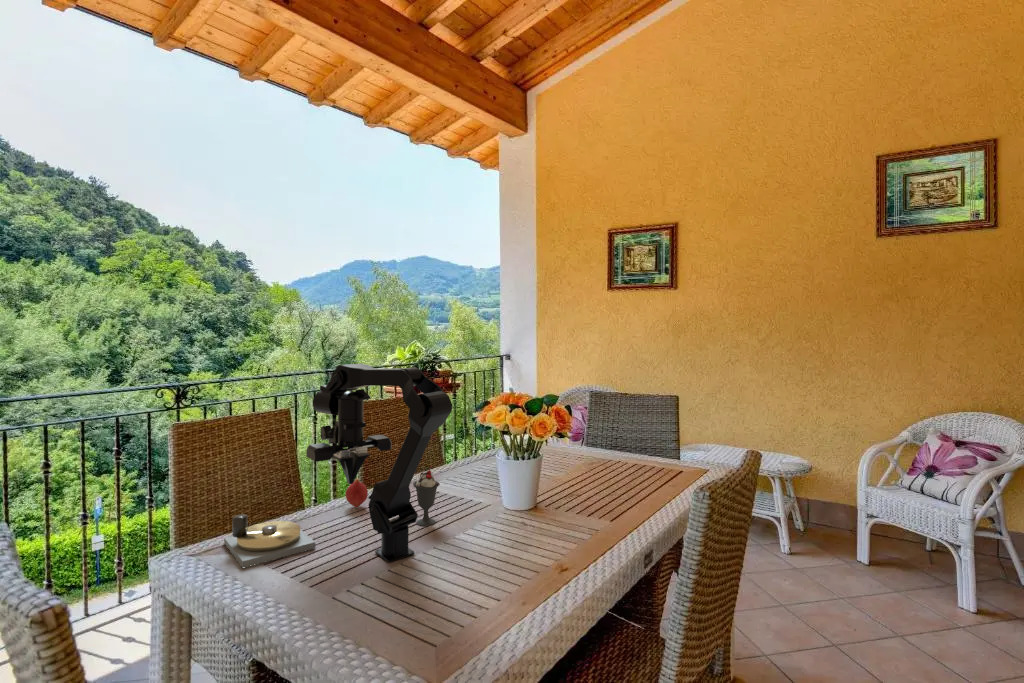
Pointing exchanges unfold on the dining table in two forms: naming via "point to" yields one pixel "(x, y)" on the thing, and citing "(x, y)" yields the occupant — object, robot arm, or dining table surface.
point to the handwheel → (264, 534)
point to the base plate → (257, 557)
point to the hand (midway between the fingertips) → (350, 483)
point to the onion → (356, 493)
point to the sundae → (426, 496)
